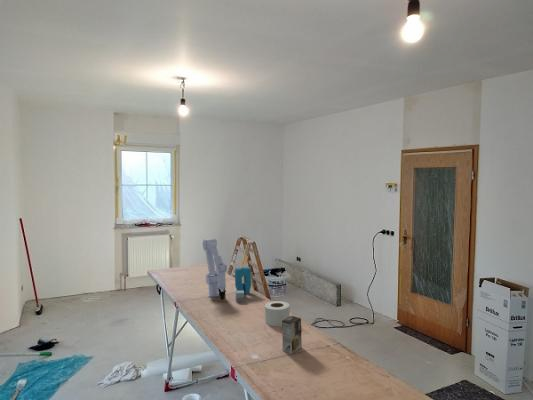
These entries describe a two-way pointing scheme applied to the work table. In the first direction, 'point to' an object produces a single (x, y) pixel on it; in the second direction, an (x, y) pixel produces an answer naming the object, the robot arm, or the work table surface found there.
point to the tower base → (240, 299)
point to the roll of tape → (276, 313)
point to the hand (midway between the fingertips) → (222, 298)
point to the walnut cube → (220, 298)
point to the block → (247, 279)
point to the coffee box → (291, 334)
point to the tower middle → (240, 294)
